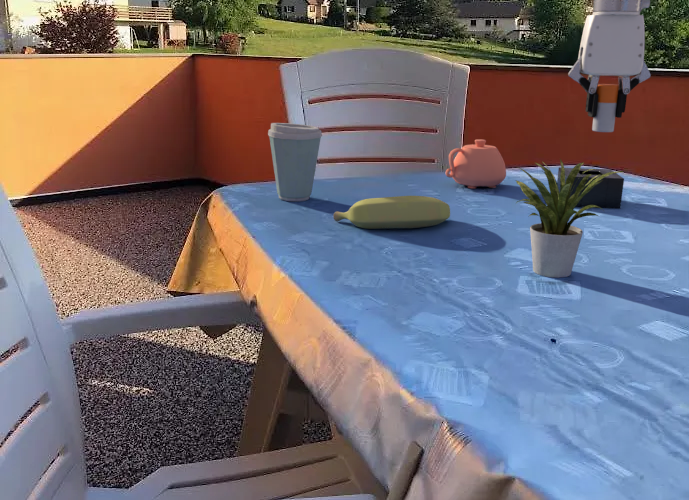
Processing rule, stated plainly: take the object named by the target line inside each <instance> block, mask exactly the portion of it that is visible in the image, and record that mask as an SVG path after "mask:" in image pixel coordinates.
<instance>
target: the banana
mask: <svg viewBox="0 0 689 500" xmlns="http://www.w3.org/2000/svg"><path fill="white" fill-rule="evenodd" d="M332 216H333V217H332V218H333V220H334V221H335V222H340V221H342V220H349V222H351V224H353V225H354V226H355V227H358V228H361V229H366V230H367V229H369V230H373V229H374V230H375V229H376V230H377V229H379V230H380V229H418V228H426V227H433V226H437V225H439V224H441V223H444V222H445V221H447V220H448V219H450V217H451V207H450V205H449V204H448V203H447V202H445V201H443V200H441V199H438V198H436V197H432V196H424V195H397V196H387V197H386V196H383V197H372V198H371V197H370V198H364V199H361V200H358V201H356V202H355V203H353V205H351V207H349V209H348V210H347V211H345V212H344V211H343V212H342V211H337V210H336V211H335V212H334V213H333V215H332Z"/></svg>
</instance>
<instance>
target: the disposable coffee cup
mask: <svg viewBox="0 0 689 500" xmlns="http://www.w3.org/2000/svg"><path fill="white" fill-rule="evenodd" d="M267 136H268V139H269V144H270V151H271V158H272V159H271V160H272V165H273V172H274V179H275V187H276V192H277V195H278V199H280V200H281V201H285V202H294V203H295V202H305V201H308V200H309V199H310V198H311V196H312V193H313V187H314V180H315V176H316V175H315V174H316V168H317V163H318V158H319V157H318V156H319V152H320V151H319V150H320V145H321V139H322V137H323V133H322V130H321V129H320V127H318V126H314V125H310V124H300V123H288V122H271V123H270V129H268V131H267Z"/></svg>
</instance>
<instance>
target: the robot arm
mask: <svg viewBox="0 0 689 500" xmlns="http://www.w3.org/2000/svg"><path fill="white" fill-rule="evenodd" d="M650 5H651V0H593V5H592V14H588V15H586V18H585V21H584V26H583V29H582V33H581V34H582V35H581V39H580V43H579V44H580V45H579V51H578V57H577V60H576V62H575V63H574V64H573V66H572V67H571V68H570V70H569V72H568V73H567V75H568V77H569V78H571V79H572V80H573V81H574V82H577V83H578V84H579V85H580V86H581V87H582V89H583V90H584V91H585V93H586V101H585V112H586V113H587V116H588V117H590V118H593V117H596V114H597V105H598V94H597V90H596V89H597V85H598V84H599V80H600V77H601V76H612V77H613V76H614V77H615V76H617V85H619V90H618V98H617V107H616V115H615V118H618V119H620V118H622V116H623V113H625V112H626V105H627V98H628V95H629V94H630V92H631V91H632V90H633V89H635V88H636V87H637V86H638V85H639V84H640V83H643V82H645V81H646V80H648V79H650V78H651V73H650V70H649V68H648V66H647V64H646V62H645V59H644V58H645V43H646V42H645V40H646V39H645V37H646V36H645V35H646V34H645V17H644V14H641V12H642V10H643V9H649V8H650ZM582 74H584V75H588V76H587V77H585V76H583V75H582ZM631 76H634V77H631Z"/></svg>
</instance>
